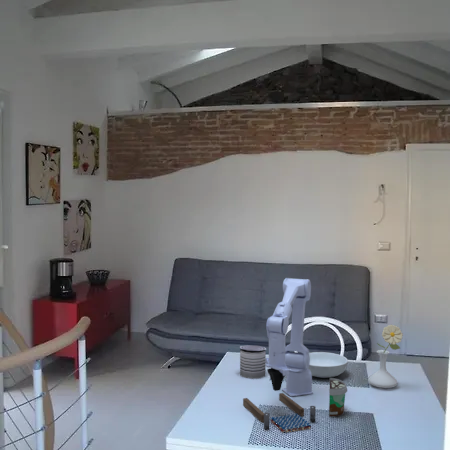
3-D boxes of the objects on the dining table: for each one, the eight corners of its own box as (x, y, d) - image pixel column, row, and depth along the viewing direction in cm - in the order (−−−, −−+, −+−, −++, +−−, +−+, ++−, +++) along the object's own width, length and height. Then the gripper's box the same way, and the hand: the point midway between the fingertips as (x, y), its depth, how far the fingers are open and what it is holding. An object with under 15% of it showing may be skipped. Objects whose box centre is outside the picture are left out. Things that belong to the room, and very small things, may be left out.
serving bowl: (311, 364, 240) (311, 349, 240) (355, 372, 228) (355, 357, 227) (288, 376, 223) (289, 360, 223) (335, 386, 211) (335, 369, 211)
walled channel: (282, 399, 197) (282, 392, 196) (304, 415, 182) (304, 408, 181) (243, 405, 191) (243, 398, 191) (261, 422, 176) (261, 415, 176)
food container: (347, 419, 179) (348, 390, 178) (329, 418, 180) (329, 389, 179) (346, 406, 191) (347, 378, 190) (329, 404, 192) (329, 377, 191)
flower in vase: (366, 388, 209) (367, 325, 208) (369, 379, 219) (370, 319, 218) (400, 392, 204) (402, 328, 203) (402, 383, 214) (403, 322, 213)
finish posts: (313, 420, 178) (313, 405, 178) (316, 422, 177) (316, 407, 176) (262, 428, 172) (263, 413, 171) (265, 430, 170) (265, 415, 170)
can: (234, 375, 224) (234, 347, 224) (250, 368, 233) (250, 341, 232) (255, 381, 217) (255, 352, 216) (271, 374, 226) (271, 346, 225)
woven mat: (268, 422, 177) (268, 416, 177) (297, 418, 181) (297, 412, 181) (282, 435, 168) (282, 429, 167) (312, 430, 171) (312, 424, 171)
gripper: (257, 346, 188) (257, 384, 188) (275, 358, 174) (275, 398, 175) (275, 344, 190) (275, 382, 191) (294, 356, 177) (294, 396, 177)
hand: (276, 389), depth 183 cm, fingers closed
